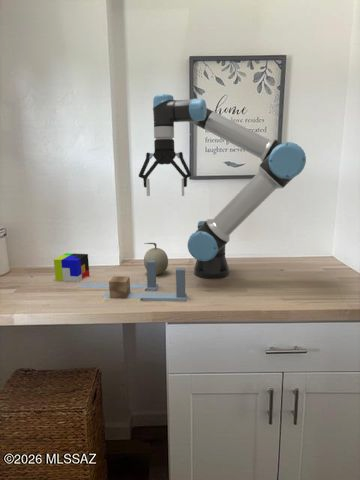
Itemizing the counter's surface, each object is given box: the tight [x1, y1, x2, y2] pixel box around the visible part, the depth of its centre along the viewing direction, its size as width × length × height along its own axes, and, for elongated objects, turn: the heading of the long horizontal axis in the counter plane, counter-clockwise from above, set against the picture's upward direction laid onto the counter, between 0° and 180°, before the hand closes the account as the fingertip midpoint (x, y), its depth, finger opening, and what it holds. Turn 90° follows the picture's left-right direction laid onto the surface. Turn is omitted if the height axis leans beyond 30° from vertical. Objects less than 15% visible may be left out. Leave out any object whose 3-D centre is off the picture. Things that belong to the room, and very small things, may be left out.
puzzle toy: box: [53, 252, 90, 283], centre depth 146 cm, size 10×10×10 cm
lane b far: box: [78, 282, 109, 289], centre depth 137 cm, size 15×5×1 cm, turn 85°
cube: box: [108, 275, 131, 299], centre depth 126 cm, size 6×6×6 cm
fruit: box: [143, 242, 169, 276], centre depth 152 cm, size 10×12×15 cm
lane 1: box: [130, 260, 159, 292], centre depth 134 cm, size 12×5×11 cm, turn 85°
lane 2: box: [102, 267, 188, 302], centre depth 125 cm, size 30×5×11 cm, turn 85°
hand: (165, 195), depth 136 cm, fingers open, 13 cm apart
